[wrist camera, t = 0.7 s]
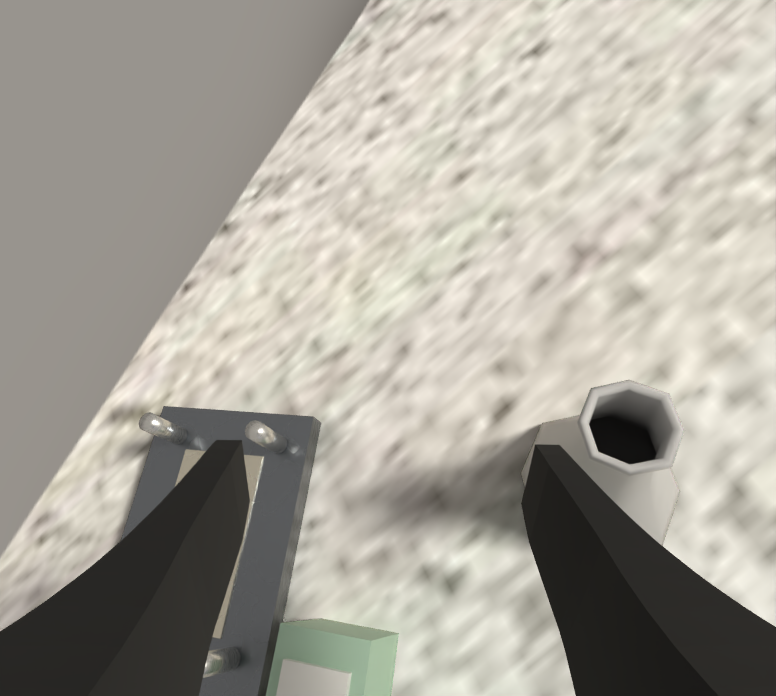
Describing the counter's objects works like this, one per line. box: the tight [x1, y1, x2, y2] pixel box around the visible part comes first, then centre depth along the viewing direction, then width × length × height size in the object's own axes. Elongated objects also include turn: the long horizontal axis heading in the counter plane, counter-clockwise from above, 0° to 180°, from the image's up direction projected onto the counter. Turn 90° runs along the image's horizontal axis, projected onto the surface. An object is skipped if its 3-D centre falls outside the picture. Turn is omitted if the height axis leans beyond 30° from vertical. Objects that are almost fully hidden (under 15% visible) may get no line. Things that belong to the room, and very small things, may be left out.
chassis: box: [121, 406, 321, 696], centre depth 28 cm, size 14×10×4 cm
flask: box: [521, 380, 684, 545], centre depth 22 cm, size 7×7×10 cm
